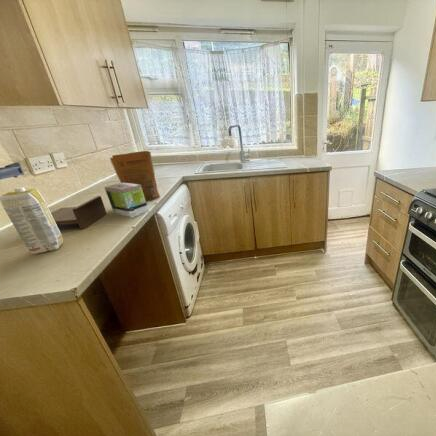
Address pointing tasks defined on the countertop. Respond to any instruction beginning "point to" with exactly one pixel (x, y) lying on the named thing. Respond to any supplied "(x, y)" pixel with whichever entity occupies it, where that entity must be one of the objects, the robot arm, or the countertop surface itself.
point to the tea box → (127, 199)
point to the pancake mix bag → (137, 171)
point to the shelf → (81, 213)
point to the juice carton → (32, 220)
